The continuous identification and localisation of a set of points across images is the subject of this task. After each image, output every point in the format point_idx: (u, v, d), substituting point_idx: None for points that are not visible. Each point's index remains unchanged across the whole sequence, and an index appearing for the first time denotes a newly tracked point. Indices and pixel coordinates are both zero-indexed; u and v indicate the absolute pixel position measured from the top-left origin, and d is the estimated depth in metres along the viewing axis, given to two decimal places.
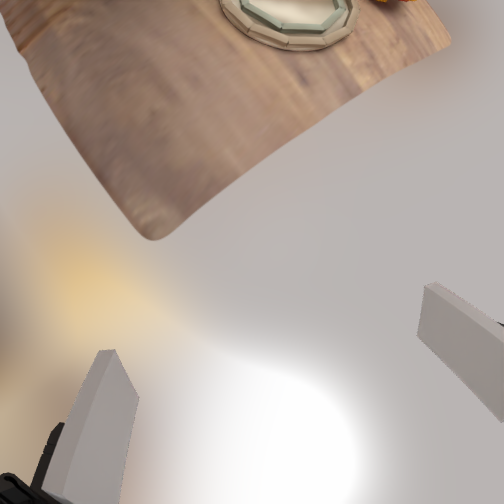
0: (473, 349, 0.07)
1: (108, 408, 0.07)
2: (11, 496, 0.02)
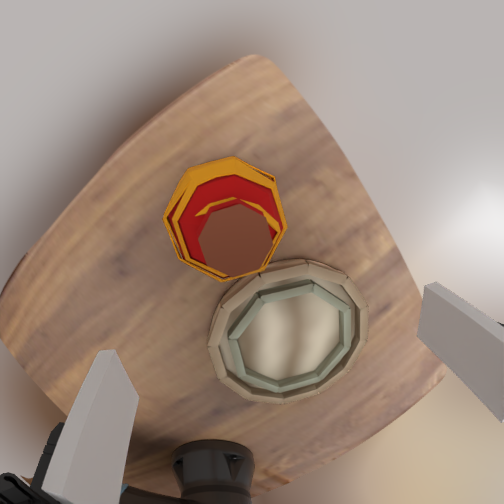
0: (473, 349, 0.07)
1: (108, 408, 0.07)
2: (11, 496, 0.02)
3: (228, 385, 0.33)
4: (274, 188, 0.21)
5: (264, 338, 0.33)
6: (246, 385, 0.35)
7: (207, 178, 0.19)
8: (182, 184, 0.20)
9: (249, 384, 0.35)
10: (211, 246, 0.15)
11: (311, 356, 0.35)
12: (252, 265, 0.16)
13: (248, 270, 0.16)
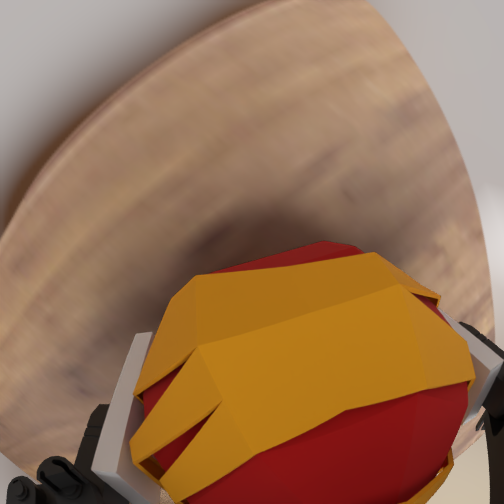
0: None
1: None
2: (57, 481, 0.03)
3: None
4: None
5: None
6: None
7: (307, 423, 0.03)
8: (180, 388, 0.05)
9: None
10: None
11: None
12: None
13: None
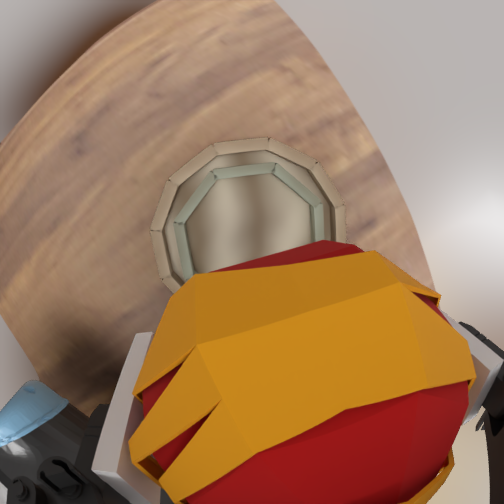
0: None
1: None
2: (57, 481, 0.03)
3: (172, 289, 0.29)
4: None
5: (218, 232, 0.29)
6: None
7: (306, 422, 0.03)
8: (179, 387, 0.04)
9: None
10: None
11: None
12: None
13: None
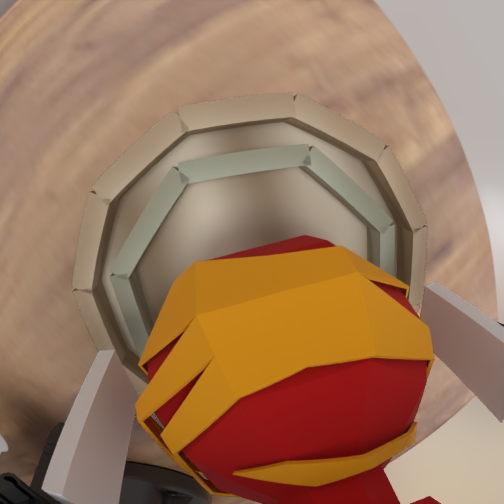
0: (473, 349, 0.07)
1: (108, 408, 0.07)
2: (11, 496, 0.02)
3: None
4: None
5: None
6: None
7: (277, 374, 0.05)
8: (181, 350, 0.06)
9: None
10: None
11: None
12: None
13: None
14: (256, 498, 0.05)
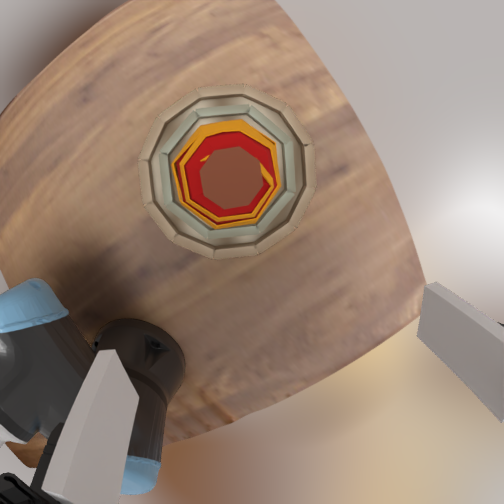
0: (473, 349, 0.07)
1: (108, 408, 0.07)
2: (11, 496, 0.02)
3: (152, 215, 0.31)
4: (273, 149, 0.23)
5: None
6: (174, 226, 0.33)
7: (215, 131, 0.21)
8: (193, 136, 0.22)
9: (178, 227, 0.33)
10: (209, 179, 0.17)
11: None
12: (242, 200, 0.18)
13: (238, 204, 0.18)
14: None
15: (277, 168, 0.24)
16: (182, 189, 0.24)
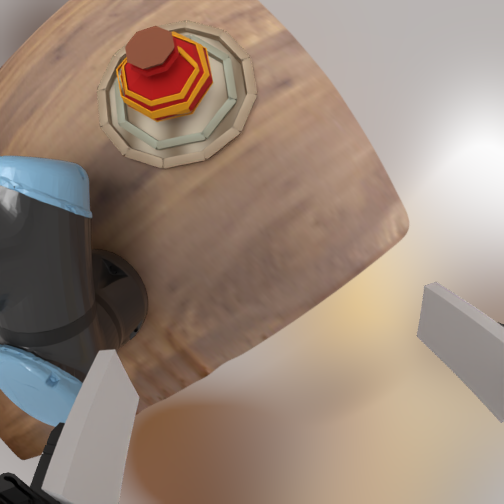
0: (473, 349, 0.07)
1: (108, 408, 0.07)
2: (11, 496, 0.02)
3: (108, 134, 0.29)
4: (199, 45, 0.22)
5: None
6: (128, 144, 0.31)
7: None
8: None
9: (132, 145, 0.32)
10: (132, 50, 0.16)
11: (196, 113, 0.32)
12: (157, 60, 0.17)
13: (154, 63, 0.17)
14: None
15: (204, 60, 0.22)
16: (124, 88, 0.22)
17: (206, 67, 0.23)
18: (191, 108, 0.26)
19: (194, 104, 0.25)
